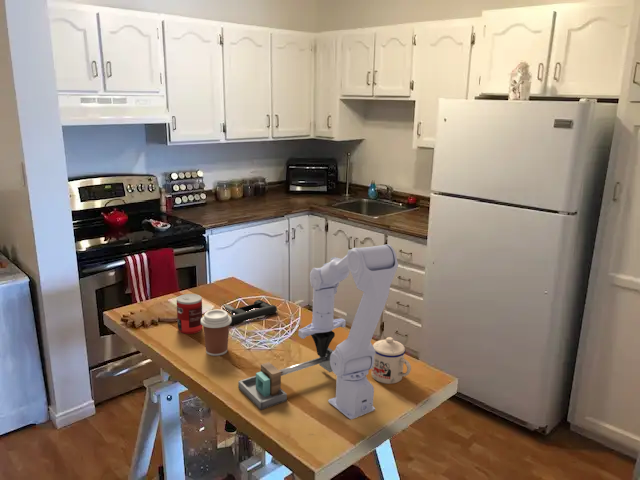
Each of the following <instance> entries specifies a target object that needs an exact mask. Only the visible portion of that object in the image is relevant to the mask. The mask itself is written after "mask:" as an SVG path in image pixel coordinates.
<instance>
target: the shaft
mask: <svg viewBox="0 0 640 480" xmlns="http://www.w3.org/2000/svg"><path fill="white" fill-rule="evenodd" d="M333 351H334V350H333V349H331V348H330V347H328V349H327V352H326V355H325V357H320V356H318V357H317V358H315V359H314V358H313V359H309V360H307V361H304V362H301V363H300V362H299V363H298V364H294V365H291V366H288V367H284V368H281V369H278V370H279V371H281V377H283V376H286V375H289V374H292V373H295V372H299V371H302V370H304V369H307V368H310V367H313V366H316V365H319V366H320V367H321V368H323V369H324V370H326V371H327V372H328V373H333V371H332V369H331V365H330V356H331V353H332V352H333Z"/></svg>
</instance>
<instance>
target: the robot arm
mask: <svg viewBox="0 0 640 480" xmlns="http://www.w3.org/2000/svg"><path fill="white" fill-rule="evenodd" d="M329 260H330V261H329V262H326V263H323V264H322V266H321V267H312V269H311V270H310V272H309V281H310V286H311V287H312V289H313V292H312V317H311V318H312V319H311V323H309V324H308V325H305V326H304V327H302V328H300V329H298V333H297V334H298V337H299V338H300V339H301V340H302V339H306V337H310V336H311V338H312V340H313V342H314V345H315V349H316V353H317V356H318V357H325V355H326V352H327V349H328V348H330V344H331V342H332V341H333V339H334V338H335V335H336V334H335V332H334V331H333V330H335V329H337V328H338V329H339V328H346V326H347V325H346V322H347V321H346V319H344V318H343V317H342V318H341V317H340V318H334V316H335V315H334V313H335V295H336V294H337V293H338V287H339V285H340V283H341V282H343V281H344V280H346V279H347V278H349V275H350V274H351V276H352V279H353V281H354V283H355V286H356V289H357V290H359V291H361V292H363V293H362V295H361V299H360V302H359V305H358V307H357V310H356V311H355V312H356V313H355V316H354V318H353V321H352V324H351V327H350V330H349V332H348V335H347V338H346V339H344V340H343V341H342V342H340V343H338V344H337V345H336V347H335V349H334V350H333V352H332V353H331V356H330V365H331V369H332V373H333V374H334V375H335V376H336V382H335V383H336V384H335V387H336V388H335V397H332V398H329V399H328V400H327V402H328V403H329V404H330V405H332V407H334V408H336V410H338V411H339V412H340V413H342V414H343V415H344V416H345V417H346V418H347V419H349V420H354V419H356V418H359V417H361V416H364V415H366V414H369V413H372V412H374V411H375V410H376V408H375V406H374V394H375V390H374V389H375V388H374V386H373V384H372V383H371V382H370V381H369V379H368V377H367V376H368V375H369V371H371V370H372V367H373V365H374V355H375V353H376V352H375V349H374V347H373V345H374V344H373V343H372V338H373V337H374V334H375V331H376V330H377V329H376V328H377V326H378V324H379V321H380V319H381V317H382V314H383V311H384V309H385V306H386V303H387V301H388V298H389V295H390V290H391V284H392V283H393V280H394V278H395V275H396V273H397V270H398V267H399V263H398V258H397V253H396V250H395V249H394V248H393V246H392V245H390V244H388V243H387V244H386V243H385V244H383V245H373V246H365V247H352V248H351V249H348V250H347V253H346V255H344V257H342V258H340V257H339V258H338V256H335V257H331V258H330V259H329Z"/></svg>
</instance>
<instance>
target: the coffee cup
mask: <svg viewBox="0 0 640 480" xmlns="http://www.w3.org/2000/svg"><path fill="white" fill-rule="evenodd" d="M228 313H229V312H227V311H226V310H225V309H209V310H207V311H206V312H205V313H204V314H203V315H202V318H201V324H202V329H203V336H204V345H205V346H204V347H205V353H206V354H207V355H209V356H212V357H213V356H214V357H219V356H223V355H225V354H226V353H227V352H228V348H229V347H228V346H229V345H228V344H229V335H230V333H229V332H230V325H229V324H230V323H231V322H232V319H231V317H230V316H231V315H229V314H228Z"/></svg>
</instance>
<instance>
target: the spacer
mask: <svg viewBox="0 0 640 480" xmlns="http://www.w3.org/2000/svg"><path fill="white" fill-rule="evenodd" d="M255 376H256V389H257V390H258V391H259V392H260V393H261V394H262V395H263V396H264V397H266V396H269V395H270V379H269V378H268V377H267V376H266V375H265V374H264V373H263V372H261V371H257V372H255Z"/></svg>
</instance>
